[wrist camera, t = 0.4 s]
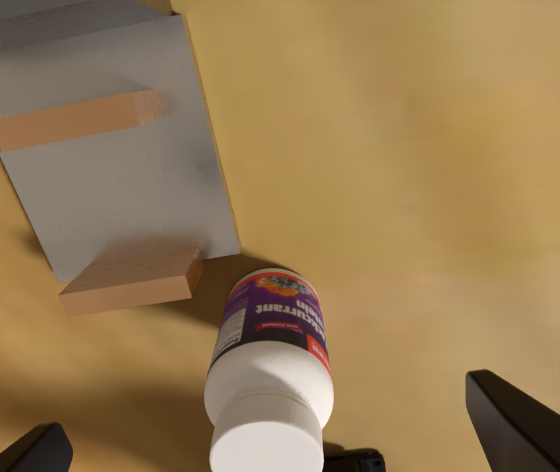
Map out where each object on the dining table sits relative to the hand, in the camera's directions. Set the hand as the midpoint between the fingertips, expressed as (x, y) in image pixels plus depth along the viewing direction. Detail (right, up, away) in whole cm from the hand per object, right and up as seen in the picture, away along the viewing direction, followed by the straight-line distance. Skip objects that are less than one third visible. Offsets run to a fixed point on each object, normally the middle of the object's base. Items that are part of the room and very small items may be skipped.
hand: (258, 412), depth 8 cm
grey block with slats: (-8, +9, +10) cm, 16 cm away
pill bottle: (0, 0, +14) cm, 14 cm away
